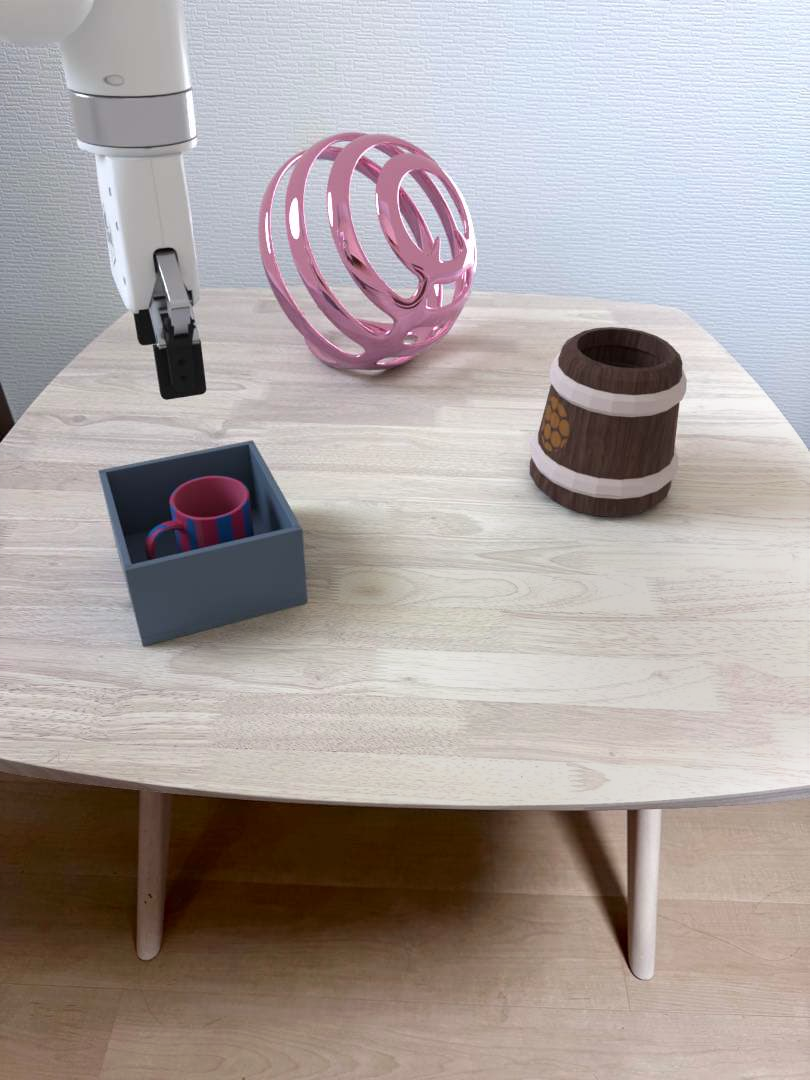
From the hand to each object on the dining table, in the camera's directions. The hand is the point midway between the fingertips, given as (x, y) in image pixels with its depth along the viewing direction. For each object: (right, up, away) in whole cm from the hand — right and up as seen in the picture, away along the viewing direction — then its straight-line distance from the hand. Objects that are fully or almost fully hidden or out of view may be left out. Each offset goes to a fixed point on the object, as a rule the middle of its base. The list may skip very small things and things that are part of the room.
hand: (170, 367), depth 64 cm
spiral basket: (+14, +11, +48) cm, 51 cm away
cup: (0, -16, +12) cm, 19 cm away
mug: (+38, -6, +27) cm, 47 cm away
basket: (+3, -17, +4) cm, 18 cm away
